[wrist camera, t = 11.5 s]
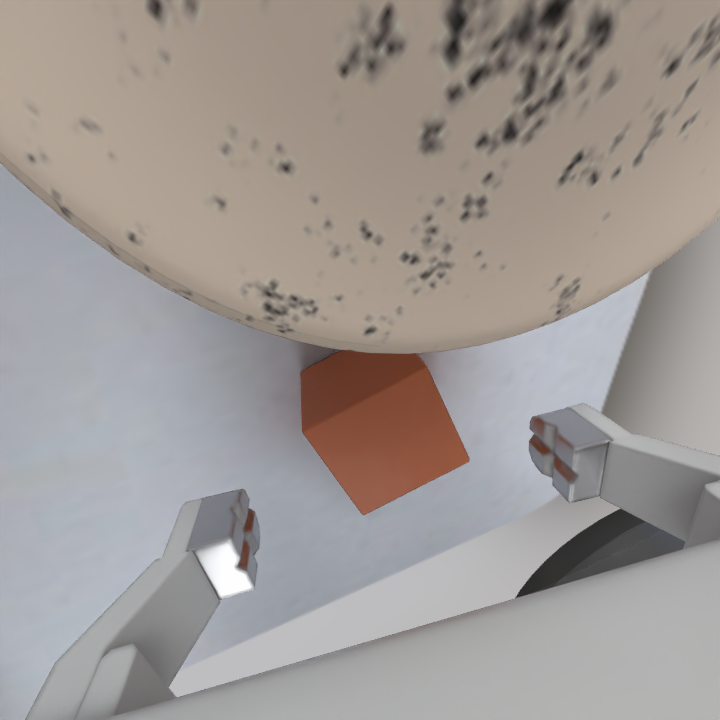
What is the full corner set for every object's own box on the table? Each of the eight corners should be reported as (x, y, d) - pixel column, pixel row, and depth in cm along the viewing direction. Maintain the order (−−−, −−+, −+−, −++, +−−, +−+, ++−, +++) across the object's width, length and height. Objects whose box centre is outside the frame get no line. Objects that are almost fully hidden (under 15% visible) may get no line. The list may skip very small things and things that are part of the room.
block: (429, 400, 15) (471, 461, 11) (346, 443, 15) (362, 517, 12) (391, 322, 13) (426, 365, 10) (299, 371, 14) (300, 431, 10)
